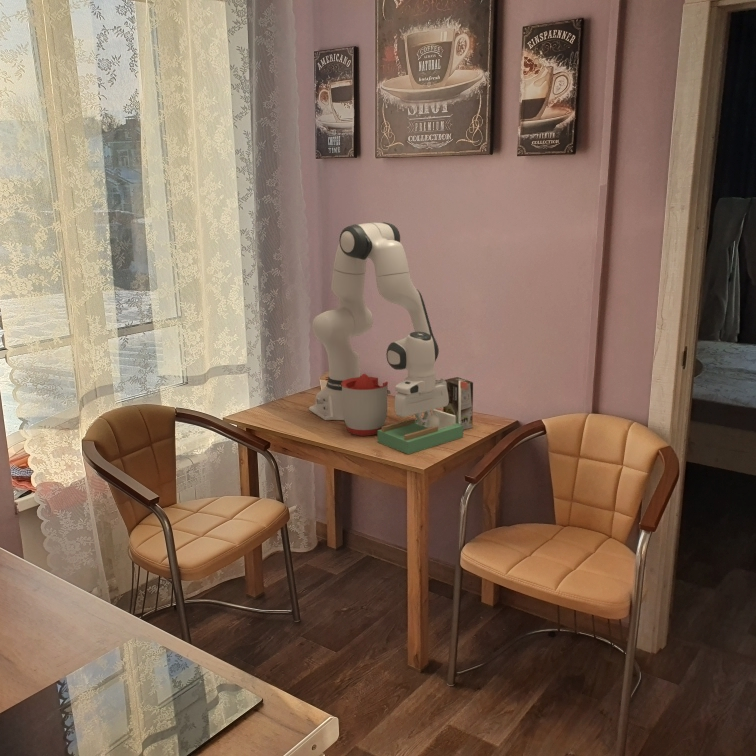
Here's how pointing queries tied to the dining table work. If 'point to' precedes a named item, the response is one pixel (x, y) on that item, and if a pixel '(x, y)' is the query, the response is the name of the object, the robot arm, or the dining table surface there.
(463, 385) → the mini golf course
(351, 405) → the citrus juicer
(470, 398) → the coffee box
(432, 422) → the ball
